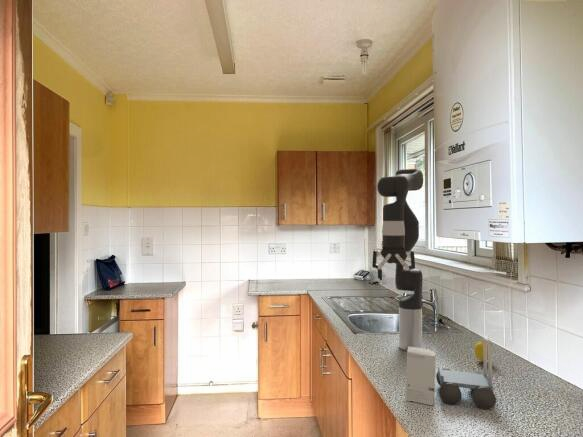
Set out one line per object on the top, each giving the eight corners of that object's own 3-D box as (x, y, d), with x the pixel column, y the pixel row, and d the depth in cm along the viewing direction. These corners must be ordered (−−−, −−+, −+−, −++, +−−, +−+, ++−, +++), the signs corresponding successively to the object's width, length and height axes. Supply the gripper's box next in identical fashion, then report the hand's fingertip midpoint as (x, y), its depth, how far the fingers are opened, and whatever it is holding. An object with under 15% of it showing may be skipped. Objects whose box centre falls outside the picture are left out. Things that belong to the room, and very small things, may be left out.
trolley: (436, 385, 122) (436, 329, 121) (487, 391, 117) (486, 333, 117) (439, 403, 110) (439, 341, 110) (496, 410, 106) (496, 345, 105)
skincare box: (405, 401, 111) (405, 351, 111) (407, 392, 117) (407, 345, 117) (435, 406, 108) (435, 355, 108) (435, 397, 114) (435, 348, 114)
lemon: (482, 365, 138) (482, 344, 138) (471, 360, 143) (471, 339, 143) (494, 363, 139) (494, 342, 139) (483, 358, 144) (483, 338, 144)
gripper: (414, 233, 130) (414, 279, 131) (373, 233, 135) (373, 278, 135) (415, 234, 123) (415, 283, 123) (371, 234, 127) (371, 281, 128)
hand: (393, 280), depth 129 cm, fingers open, 8 cm apart
